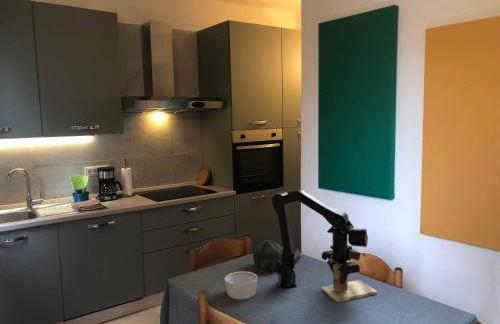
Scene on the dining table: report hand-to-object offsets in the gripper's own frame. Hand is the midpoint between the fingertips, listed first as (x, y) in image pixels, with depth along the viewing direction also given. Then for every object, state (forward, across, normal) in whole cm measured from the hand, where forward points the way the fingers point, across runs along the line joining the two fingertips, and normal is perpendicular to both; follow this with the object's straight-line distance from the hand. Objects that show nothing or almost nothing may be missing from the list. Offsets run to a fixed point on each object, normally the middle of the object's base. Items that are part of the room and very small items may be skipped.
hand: (340, 282), depth 159 cm
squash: (+5, +37, +15) cm, 40 cm away
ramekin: (+5, +16, +36) cm, 40 cm away
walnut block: (+3, 0, 0) cm, 3 cm away
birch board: (+5, 0, -4) cm, 6 cm away
